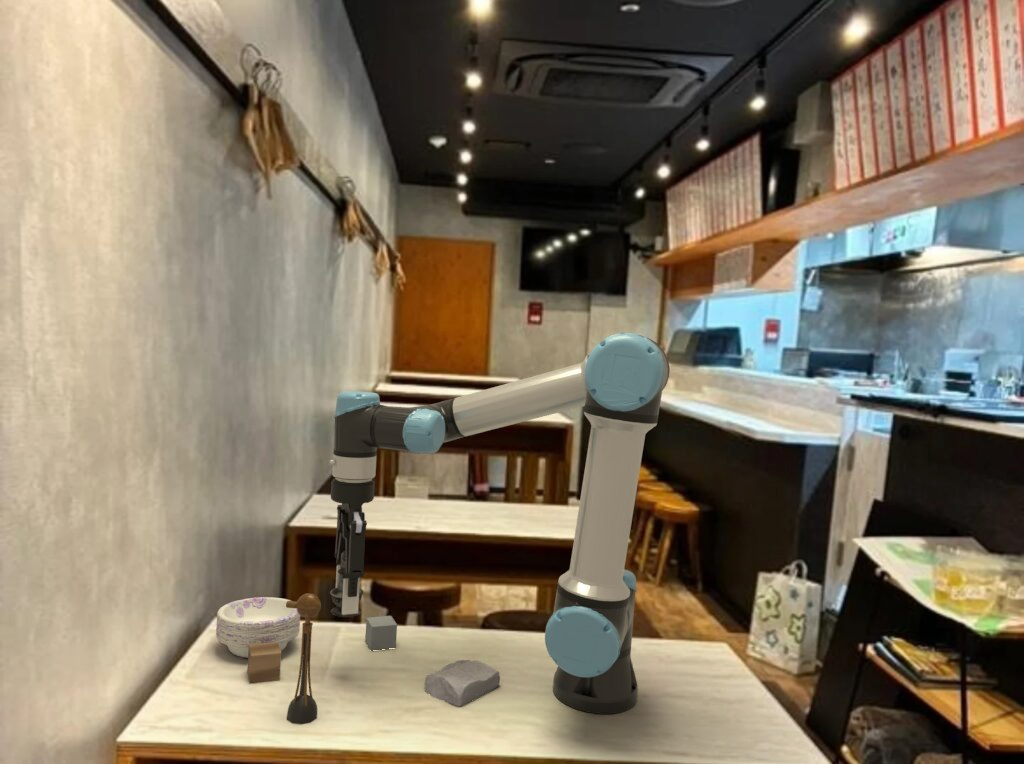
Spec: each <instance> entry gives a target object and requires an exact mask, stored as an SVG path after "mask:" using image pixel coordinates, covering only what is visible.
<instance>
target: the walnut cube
mask: <svg viewBox="0 0 1024 764" xmlns="http://www.w3.org/2000/svg"><path fill="white" fill-rule="evenodd" d="M281 661H282V651H280V647H279V644H278V642H271V643H260V644H249V650H248V658H247V669H246V670H247V672H246V673H247V678H248V682H249V683H248V684H258V683H259V684H261V683H269V682H275V681H276V682H278V681H280V679H281Z"/></svg>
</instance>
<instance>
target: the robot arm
mask: <svg viewBox="0 0 1024 764" xmlns="http://www.w3.org/2000/svg"><path fill="white" fill-rule="evenodd" d="M670 367H671V366H670V362H669V359H668V356H667V354H666V352H665V351H664V349H663V348H662V347H661V345H660V344H658V343H657V342H656V341H655V340H652V339H651V338H649V337H646V336H644V335H642V334H637V333H634V332H626V333H625V332H619V333H615V334H612V335H610V336H608V337H606V338H604V339H603V340H601V341H600V342H599V343H597V344H596V346H594V347H593V348H592V350H591V352H590V354H588V355H585V357H584V360H583V361H582V362H580V363H576V364H573V365H569V366H566V367H565V366H564V367H562V368H559V369H555V370H552V371H551V370H550V371H548V372H545V373H541V374H537V375H533V376H530V377H526V378H523V379H519V380H516V381H515V380H514V381H512V382H508V383H505V384H500V385H498V386H497V385H496V386H494V387H490V388H487V389H484V390H480V391H475V392H472V393H469V394H465V395H461V396H458V397H455V398H451V399H446V400H443V401H440V402H436V403H432V404H428V405H427V404H426V405H419V406H412V407H410V406H409V407H404V406H403V407H402V406H392V405H391V406H389V405H388V406H387V405H383V404H381V401H380V396H379V394H378V393H376V392H372V391H371V392H369V391H359V390H358V391H356V390H355V391H354V390H348V391H347V390H345V391H341V392H340V393H338V395H337V396H336V397H337V398H336V404H335V411H334V416H333V418H334V436H333V437H334V438H333V439H334V440H333V453H332V454H333V459H330V460H329V466H332V473H331V475H332V476H333V477H334V478H333V479H332V480H331V487H330V488H331V489H330V499H331V501H333V502H335V503H338V504H337V507H336V511H337V512H336V513H337V514H336V515H337V520H336V535H335V536H336V537H335V546H334V547H335V549H334V550H335V551H334V557H335V558H336V559H335V560H336V561H335V562H336V576H335V588H337V587H338V584H339V576H340V573H339V572H338V570H339V569H340V566H341V554H342V553H343V552H344V551H346V574H345V575H341V578H342V579H344V581H343V599H342V615H346V614H357V613H358V608H359V603H360V602H359V588H360V586H361V585H360V583H361V578H364V575H365V573H364V571H365V570H364V569H365V568H364V567H365V552H366V551H365V548H366V545H365V543H366V530H367V525H368V522H367V520H365V519H366V516H365V515H366V513H365V511H363V505H364V504H369V503H371V502H373V500H374V499H375V486H376V485H375V484H376V482H375V481H374V478H375V477H376V471H377V470H376V469H377V449H385V450H393V451H400V452H401V451H402V452H410V453H413V454H418V455H420V454H435V453H437V452H438V451H439V450H440V448H441V447H442V445H443V444H445V443H448V442H451V441H455V440H457V439H462V438H464V437H469V436H473V435H477V434H480V433H484V432H488V431H491V430H495V429H499V428H504V427H508V426H511V425H515V424H519V423H520V424H521V423H524V422H527V421H530V420H534V419H538V418H544V417H546V416H550V415H553V414H554V415H555V414H557V413H558V414H559V413H562V412H565V411H566V412H567V411H569V410H574V409H578V408H582V407H583V408H584V409H583V414H584V416H585V417H586V419H587V420H588V422H589V423H590V425H591V426H590V432H589V433H590V434H589V439H588V445H587V447H588V448H587V453H586V460H585V467H584V473H583V479H582V484H581V485H582V486H581V493H580V499H579V503H578V505H579V506H578V511H577V519H576V525H575V532H574V538H573V539H574V540H573V544H572V551H571V558H570V564H569V569H568V570H567V571H565V573H563V574H561V575H560V576H559V578H558V582H557V587H556V593H555V600H554V607H553V613H552V615H551V616H550V617H549V619H548V621H547V623H546V626H545V631H544V642H545V648H546V650H547V652H548V655H549V657H550V658H551V659H552V660H553V662H554V663H555V664H556V666H557V668H556V671H555V672H554V675H553V681H552V682H553V684H552V692H553V694H554V696H555V697H556V699H558V700H559V701H560V702H562V703H563V704H565V705H566V706H568V707H571V708H573V709H576V710H579V711H582V712H587V713H593V714H606V715H607V714H618V713H622V712H625V711H627V710H630V709H632V708H633V707H634V706H635V705H636V703H637V701H638V692H639V690H638V687H639V686H638V681H637V677H636V673H635V669H634V665H633V661H632V656H631V655H632V652H631V651H632V641H633V640H632V639H633V627H634V616H635V615H634V613H635V612H634V611H635V604H636V603H635V601H636V600H635V599H636V592H638V591H637V590H638V588H637V578H636V575H635V574H634V573H633V572H632V571H630V570H628V569H625V568H626V567H625V565H626V560H627V554H628V548H629V540H630V534H631V528H632V521H633V515H634V509H635V502H636V496H637V490H638V483H639V477H640V471H641V465H642V458H643V451H644V446H645V439H646V434H647V433H648V432H649V431H651V430H652V429H653V428H654V427H655V428H656V426H657V424H658V420H659V413H660V408H661V407H660V406H661V402H662V401H661V400H662V395H663V391H664V389H665V388H666V386H667V384H668V381H669V379H670V371H671V370H670V369H671V368H670ZM360 589H361V588H360Z"/></svg>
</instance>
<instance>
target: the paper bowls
mask: <svg viewBox="0 0 1024 764" xmlns="http://www.w3.org/2000/svg"><path fill="white" fill-rule="evenodd" d="M287 601H291V599H287V598H280V597H272V596H262V597H261V596H260V597H251V598H243V599H239V600H234V601H230V602H228V603H226V604H223V606H221V607H220V608H219V609H218V611H217V612H216V628H215V630H216V634H215V635H216V640H217V641H218V642H220V644H224V645H225V646H227V648H228V650H229V651H230V652H231V653H232V654H233V655H234V656H238V657H241V658H247V659H248V650H249V644H260V643H271V642H278V644H279V647H280V651H281V652H282V651H283V650H284V649H285V648H286V647H287V645H288V643H289V642H291V641H293V640H294V639H295V638H297V637H298V636H299V634H300V630H301V629H300V626H301V616H300V615H299V613H298V612H297V609H295V608H287V607H286V603H287Z"/></svg>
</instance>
